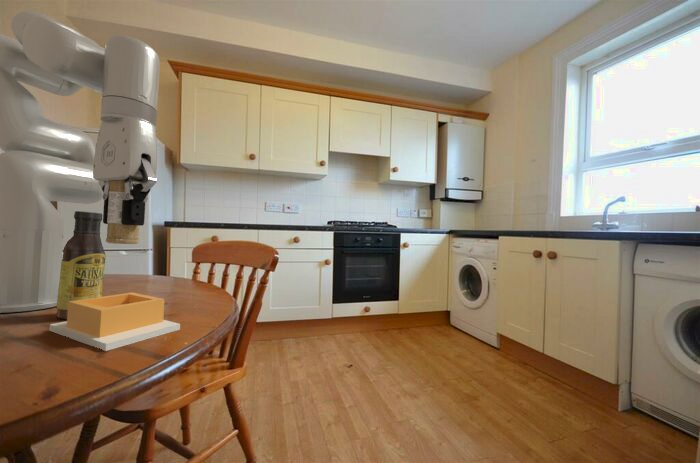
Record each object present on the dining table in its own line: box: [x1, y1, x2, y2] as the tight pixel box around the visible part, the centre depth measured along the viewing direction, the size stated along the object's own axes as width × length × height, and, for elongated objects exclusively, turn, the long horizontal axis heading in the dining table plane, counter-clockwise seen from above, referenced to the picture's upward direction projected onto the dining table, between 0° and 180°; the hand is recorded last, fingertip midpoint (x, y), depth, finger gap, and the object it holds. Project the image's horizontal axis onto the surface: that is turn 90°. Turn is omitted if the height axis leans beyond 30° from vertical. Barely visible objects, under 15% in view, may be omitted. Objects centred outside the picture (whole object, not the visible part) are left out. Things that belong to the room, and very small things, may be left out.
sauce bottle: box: [56, 210, 107, 320], centre depth 56 cm, size 7×6×20 cm
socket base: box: [49, 291, 181, 352], centre depth 49 cm, size 16×11×5 cm
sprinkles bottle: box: [105, 178, 140, 245], centre depth 49 cm, size 5×5×13 cm
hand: (123, 223), depth 49 cm, fingers closed on sprinkles bottle, 4 cm apart
